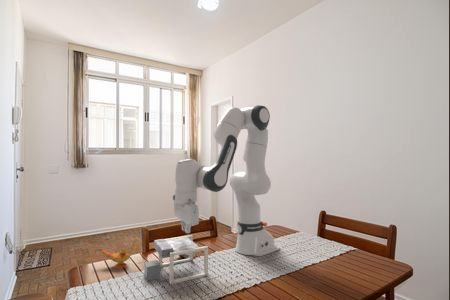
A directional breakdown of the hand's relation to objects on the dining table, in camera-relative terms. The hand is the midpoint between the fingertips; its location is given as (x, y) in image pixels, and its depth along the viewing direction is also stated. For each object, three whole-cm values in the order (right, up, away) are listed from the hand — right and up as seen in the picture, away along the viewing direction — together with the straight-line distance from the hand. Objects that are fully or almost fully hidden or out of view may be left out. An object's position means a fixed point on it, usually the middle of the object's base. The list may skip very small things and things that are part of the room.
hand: (185, 231), depth 104 cm
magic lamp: (-30, -16, +4) cm, 34 cm away
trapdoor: (-4, -7, -2) cm, 8 cm away
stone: (-12, -16, -6) cm, 21 cm away
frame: (-1, -16, -1) cm, 16 cm away
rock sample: (-2, -17, +14) cm, 22 cm away
